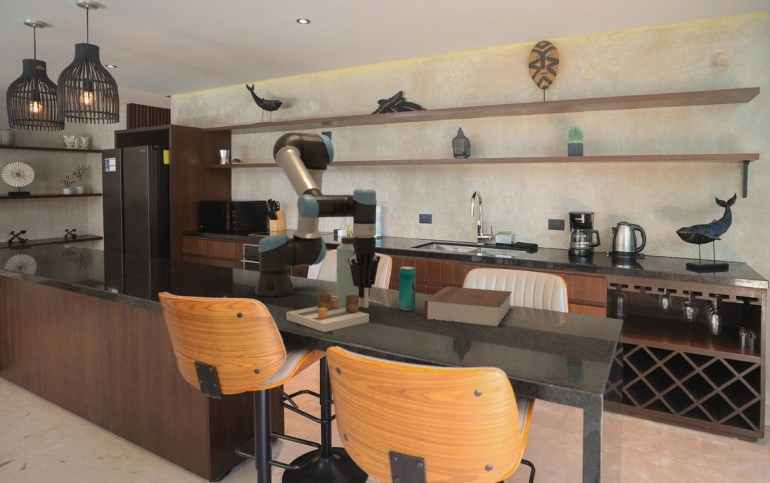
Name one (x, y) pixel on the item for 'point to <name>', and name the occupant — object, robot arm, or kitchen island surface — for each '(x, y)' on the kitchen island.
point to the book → (468, 305)
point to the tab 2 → (352, 303)
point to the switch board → (327, 317)
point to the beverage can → (407, 288)
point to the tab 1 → (324, 301)
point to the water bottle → (345, 271)
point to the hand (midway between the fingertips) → (364, 306)
